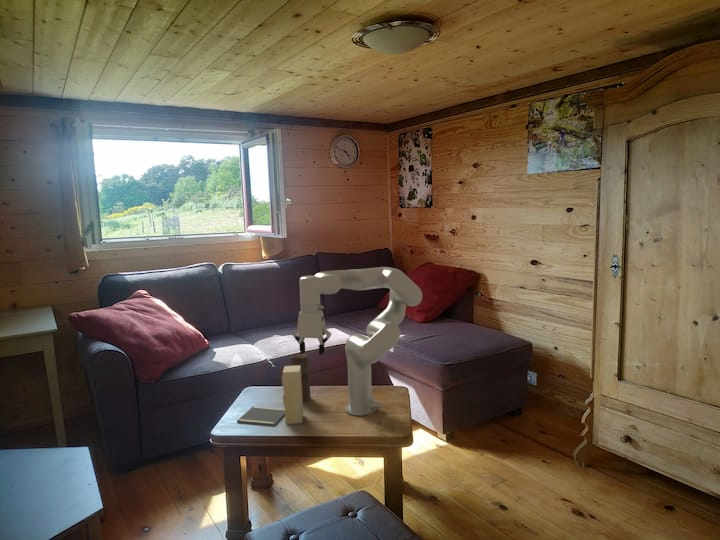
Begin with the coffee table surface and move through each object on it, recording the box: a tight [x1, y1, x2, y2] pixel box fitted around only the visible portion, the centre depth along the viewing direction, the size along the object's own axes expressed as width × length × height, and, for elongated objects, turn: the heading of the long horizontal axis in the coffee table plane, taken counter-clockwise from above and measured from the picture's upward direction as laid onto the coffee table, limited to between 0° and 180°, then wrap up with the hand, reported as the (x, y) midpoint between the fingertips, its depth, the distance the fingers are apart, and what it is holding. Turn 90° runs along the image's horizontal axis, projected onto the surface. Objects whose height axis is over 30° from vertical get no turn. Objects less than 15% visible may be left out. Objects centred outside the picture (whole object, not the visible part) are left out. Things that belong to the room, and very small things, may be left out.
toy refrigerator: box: [281, 365, 304, 425], centre depth 194 cm, size 8×7×21 cm
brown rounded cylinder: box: [290, 353, 311, 403], centre depth 214 cm, size 8×7×20 cm
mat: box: [236, 406, 285, 427], centre depth 198 cm, size 16×14×1 cm
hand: (312, 353), depth 189 cm, fingers open, 6 cm apart
